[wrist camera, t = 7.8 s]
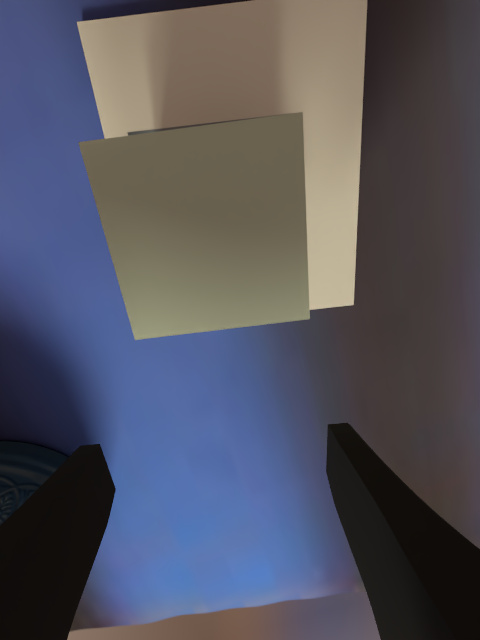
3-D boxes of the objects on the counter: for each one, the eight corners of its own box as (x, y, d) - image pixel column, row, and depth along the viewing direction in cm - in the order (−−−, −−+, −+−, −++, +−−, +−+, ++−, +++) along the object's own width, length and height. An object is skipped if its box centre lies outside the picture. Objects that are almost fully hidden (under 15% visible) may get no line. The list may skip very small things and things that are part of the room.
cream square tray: (362, -6, 14) (367, -14, 13) (350, 301, 20) (353, 305, 19) (82, 27, 14) (76, 21, 13) (152, 321, 20) (150, 326, 19)
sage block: (273, 137, 11) (302, 112, 6) (281, 266, 13) (309, 318, 8) (141, 155, 11) (78, 142, 7) (168, 280, 13) (135, 339, 8)
